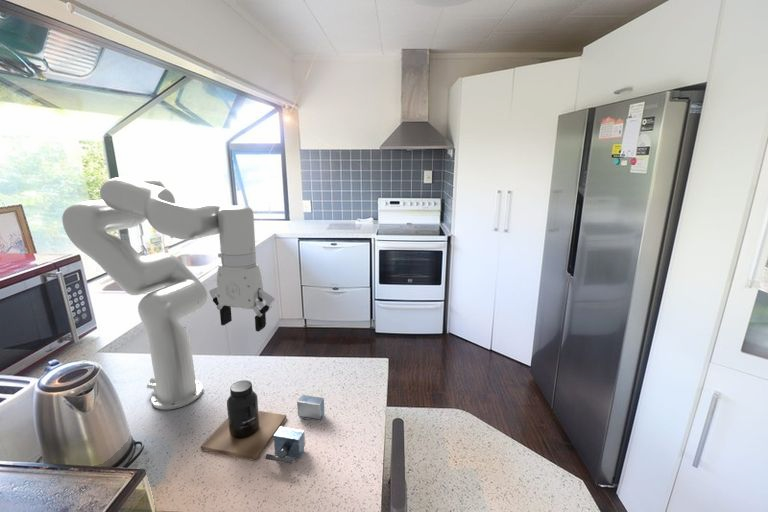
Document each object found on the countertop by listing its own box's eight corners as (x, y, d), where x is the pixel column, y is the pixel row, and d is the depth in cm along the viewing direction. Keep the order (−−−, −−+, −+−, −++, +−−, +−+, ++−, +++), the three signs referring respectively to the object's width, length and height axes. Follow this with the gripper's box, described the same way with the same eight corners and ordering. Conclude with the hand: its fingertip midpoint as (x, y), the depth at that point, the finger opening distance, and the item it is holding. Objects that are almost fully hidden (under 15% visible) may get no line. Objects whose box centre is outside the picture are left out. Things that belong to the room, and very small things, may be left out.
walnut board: (201, 450, 83) (200, 446, 82) (237, 410, 96) (237, 407, 96) (256, 460, 80) (256, 456, 80) (286, 418, 93) (286, 415, 93)
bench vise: (266, 468, 78) (264, 448, 77) (303, 411, 96) (302, 394, 95) (291, 473, 77) (290, 453, 75) (324, 414, 95) (323, 398, 93)
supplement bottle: (250, 442, 84) (245, 396, 81) (223, 437, 85) (218, 392, 82) (265, 421, 90) (261, 379, 87) (240, 418, 92) (235, 376, 89)
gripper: (196, 259, 83) (202, 327, 88) (262, 267, 79) (265, 338, 83) (218, 251, 90) (223, 315, 95) (280, 259, 86) (282, 325, 90)
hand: (243, 326), depth 89 cm, fingers open, 9 cm apart
